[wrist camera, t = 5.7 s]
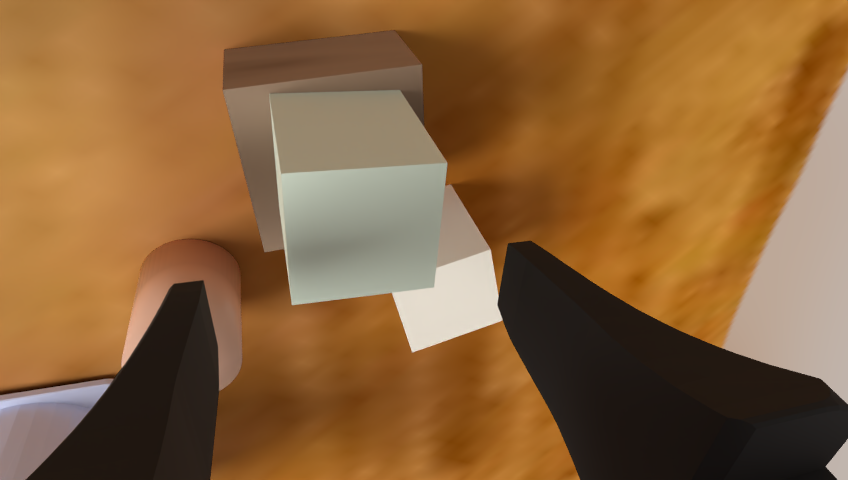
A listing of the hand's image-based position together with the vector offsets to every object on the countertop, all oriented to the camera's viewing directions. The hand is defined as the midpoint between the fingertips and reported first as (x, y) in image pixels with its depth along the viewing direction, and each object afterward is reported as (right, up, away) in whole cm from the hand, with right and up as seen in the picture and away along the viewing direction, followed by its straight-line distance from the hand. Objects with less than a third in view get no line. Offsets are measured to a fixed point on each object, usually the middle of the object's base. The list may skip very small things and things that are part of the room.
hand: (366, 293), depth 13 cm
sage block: (-1, +4, +5) cm, 7 cm away
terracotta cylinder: (-9, 0, +11) cm, 14 cm away
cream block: (+1, +2, +13) cm, 13 cm away
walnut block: (-3, +6, +8) cm, 11 cm away
